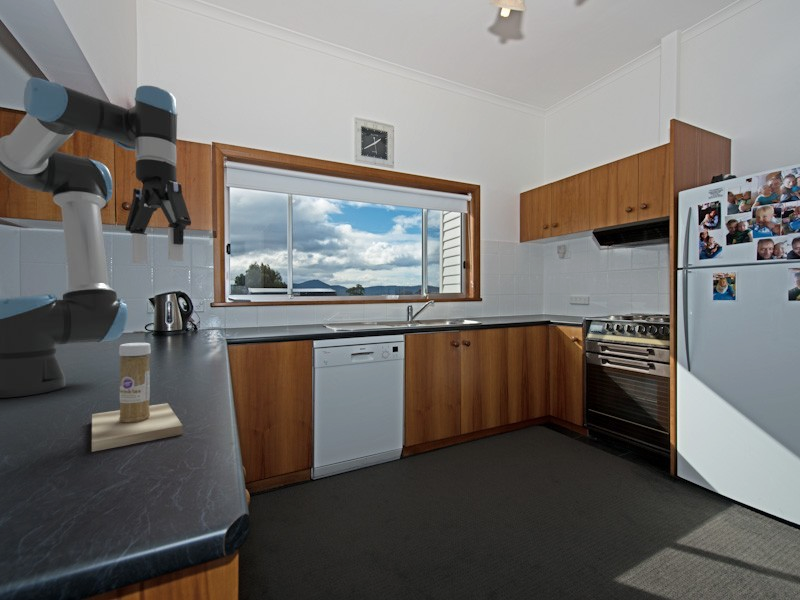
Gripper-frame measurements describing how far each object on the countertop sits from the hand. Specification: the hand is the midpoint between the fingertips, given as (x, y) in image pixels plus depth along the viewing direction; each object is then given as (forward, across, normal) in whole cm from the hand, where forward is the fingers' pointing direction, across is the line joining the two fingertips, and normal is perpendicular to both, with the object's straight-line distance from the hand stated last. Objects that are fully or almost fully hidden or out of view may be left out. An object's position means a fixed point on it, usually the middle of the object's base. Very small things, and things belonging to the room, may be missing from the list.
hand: (156, 262), depth 83 cm
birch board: (+31, -13, +11) cm, 35 cm away
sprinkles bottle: (+29, -13, +11) cm, 34 cm away
